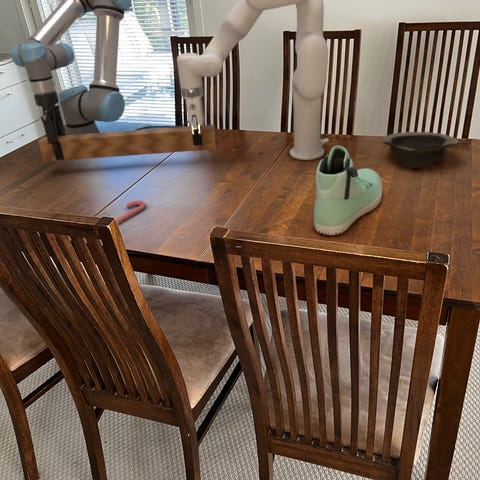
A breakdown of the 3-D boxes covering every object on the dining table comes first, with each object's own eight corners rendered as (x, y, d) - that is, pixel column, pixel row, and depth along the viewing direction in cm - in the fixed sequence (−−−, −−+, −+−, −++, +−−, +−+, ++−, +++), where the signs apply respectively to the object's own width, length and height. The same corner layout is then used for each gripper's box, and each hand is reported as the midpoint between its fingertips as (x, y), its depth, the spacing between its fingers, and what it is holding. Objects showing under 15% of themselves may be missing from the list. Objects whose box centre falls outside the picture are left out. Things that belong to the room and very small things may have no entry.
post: (43, 161, 173) (38, 141, 170) (48, 156, 178) (42, 137, 174) (216, 149, 173) (214, 128, 169) (216, 144, 177) (214, 124, 173)
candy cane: (99, 223, 142) (98, 218, 141) (136, 202, 152) (135, 198, 151) (113, 227, 139) (112, 223, 138) (149, 206, 149) (149, 202, 148)
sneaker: (389, 187, 148) (396, 123, 138) (356, 242, 123) (361, 168, 112) (346, 181, 154) (350, 119, 144) (306, 232, 129) (307, 161, 118)
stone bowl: (418, 179, 151) (419, 150, 147) (365, 160, 172) (365, 135, 167) (473, 159, 160) (476, 132, 156) (417, 144, 180) (418, 120, 176)
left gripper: (47, 98, 155) (66, 165, 168) (63, 85, 171) (79, 147, 183) (24, 100, 156) (44, 167, 168) (42, 86, 171) (59, 148, 183)
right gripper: (202, 97, 157) (208, 149, 167) (203, 84, 172) (209, 133, 181) (179, 99, 157) (186, 151, 167) (183, 86, 172) (189, 135, 182)
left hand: (62, 156), depth 175 cm, fingers closed on post, 5 cm apart
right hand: (198, 141), depth 174 cm, fingers closed on post, 5 cm apart
